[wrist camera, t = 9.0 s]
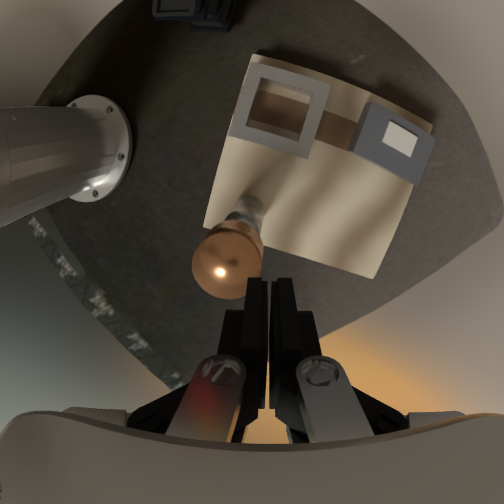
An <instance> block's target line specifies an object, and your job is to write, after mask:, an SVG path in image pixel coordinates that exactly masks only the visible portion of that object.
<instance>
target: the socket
mask: <svg viewBox="0 0 504 504" xmlns="http://www.w3.org/2000/svg"><path fill="white" fill-rule="evenodd" d="M262 82H263V83H266V84H270V85H274V86H277V87H281V88H284V89H288V90H291V91H294V92H297V93H301V94H304V95H307V96H310V101H309V104H308V107H307V110H306V113H305V116H304V120H303V123H302V126H301V129H300V132H299V135H298V138H297V141H294V140H291V139H288V138H285V137H282V136H278V135H275V134H272V133H268V132H265V131H262V130H258V129H254V128H251V127H249V123H250V120H251V117H252V114H253V110H254V107H255V104H256V101H257V98H258V94H259V91H260V88H261V85H262ZM330 88H331V85H329V84H327V83H324V82H321V81H318V80H315V79H312V78H309V77H306V76H303V75H300V74H297V73H293V72H290V71H286V70H283V69H279V68H276V67H272V66H268V65H264V64H260V63H256V62H251V63H250V66H249V69H248V72H247V75H246V78H245V81H244V84H243V87H242V90H241V93H240V97H239V100H238V103H237V106H236V109H235V113H234V116H233V119H232V123H231V126H230V130H229V133H228V136H231V137H235V138H239V139H242V140H246V141H249V142H253V143H257V144H260V145H263V146H267V147H270V148H273V149H277V150H280V151H283V152H286V153H289V154H292V155H296V156H299V157H302V158H304V159H307V160H308V157H309V154H310V151H311V148H312V145H313V142H314V139H315V135H316V132H317V129H318V126H319V123H320V120H321V117H322V114H323V110H324V107H325V104H326V101H327V98H328V95H329V91H330Z"/></svg>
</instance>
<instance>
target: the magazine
mask: <svg viewBox="0 0 504 504" xmlns="http://www.w3.org/2000/svg"><path fill="white" fill-rule="evenodd" d="M236 4H237V0H153V7H152V15H153V16H154V17H155V20H156V21H158V20H177V21H179V22H191V23H190V27H189V29H190V30H195V31H200V32H211V33H228V32H229V28H230V24H231V21H232V17H233V14H234V10H235V7H236Z"/></svg>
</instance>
